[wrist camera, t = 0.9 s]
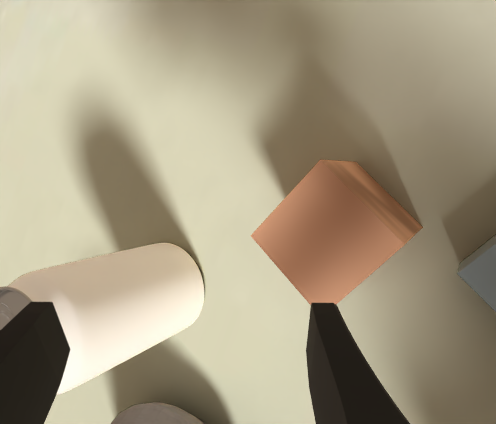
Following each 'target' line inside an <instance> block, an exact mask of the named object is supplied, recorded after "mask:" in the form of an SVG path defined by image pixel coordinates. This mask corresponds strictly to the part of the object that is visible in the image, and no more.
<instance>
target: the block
mask: <svg viewBox="0 0 496 424" xmlns="http://www.w3.org/2000/svg"><path fill="white" fill-rule="evenodd" d="M422 228H423V227H422V226H421V225H420V224H419V223H418V222H417V221H416V220H415V219H414V218H413V217H412V216H411V215H410V214H409V213H408V212H407V211H406V210H405V209H404V208H403V207H402V206H401V205H400V204H399V203H398V202H397V201H395V200H394V199H393V198H392V197H391V196H390V195H389V194H388V193H387V192H386V191H385V190H384V189H383V188H382V187H381V186H380V185H379V184H378V183H377V182H376V181H375V180H374V179H373V178H372V177H371V176H370V175H369V174H368V173H367V172H366V171H365V170H364V169H363V168H362V167H361V166H360V165H359V164H358V163H357V162H351V161H336V160H319V161H318V163H317V164H316V165H315V166H314V167H313V168H312V169H311V170H310V171H309V172H308V174H307V175H306V176H305V177H304V178H303V179H302V180H301V181H300V182H299V183H298V184H297V186H296V187H295V188H294V189H293V190H292V191H291V192H290V193H289V194H288V195H287V197H286V198H285V199H284V200H283V201H282V202H281V203H280V204H279V205H278V206H277V207H276V209H275V210H274V211H273V212H272V213H271V214H270V215H269V216H268V217H267V218H266V220H265V221H264V222H263V223H262V224H261V225H260V226H259V227H258V228H257V229H256V230H255V232H254V233H253V234H252V235H251V237H252V238H253V239H254V240H255V241H256V242H257V244H258V245H259V246H260V247H261V248H262V249H263V251H264V252H265V253H266V254H267V255H268V256H269V257H270V259H271V260H272V261H273V262H274V263H275V264H276V266H277V267H278V268H279V269H280V270H281V271H282V273H283V274H284V275H285V276H286V277H287V278H288V279H289V281H290V282H291V283H292V284H293V285H294V286H295V288H296V289H297V290H298V291H299V292H300V293H301V295H302V296H303V297H304V298H305V299H306V300H307V301H308V303H309V304H310V305H311V303H334V304H337V303H338V302H340V301H341V300H342V299H343V298H344V297H345V296H346V295H348V294H349V293H350V292H351V291H352V290H353V289H354V288H356V287H357V286H358V285H359V284H360V283H361V282H362V281H364V280H365V279H366V278H367V277H368V276H369V275H370V274H372V273H373V272H374V271H375V270H376V269H377V268H379V267H380V266H381V265H382V264H383V263H384V262H385V261H387V260H388V259H389V258H390V257H391V256H392V255H393V254H395V253H396V252H397V251H398V250H399V249H400V248H401V247H403V246H404V245H405V244H406V243H407V242H408V241H409V240H410V239H411V238H412V237H413V236H414V235H415V234H416V233H417V232H418V231H420V230H421V229H422Z"/></svg>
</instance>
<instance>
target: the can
mask: <svg viewBox="0 0 496 424" xmlns="http://www.w3.org/2000/svg"><path fill="white" fill-rule="evenodd" d="M30 302H53V304H54V307H55V310H56V312H57V315H58V318H59V320H60V323H61V326H62V328H63V331H64V334H65V336H66V339H67V341H68V344H69V347H70V353H69V356H68V360H67V364H66V367H65V371H64V374H63V377H62V381H61V384H60V387H59V389H58V391H57V394H61V393H64V392H67V391H69V390H71V389H73V388H75V387H77V386H79V385H81V384H83V383H85V382H87V381H89V380H91V379H92V378H94V377H96V376H98V375H100V374H102V373H104V372H106V371H108V370H109V369H111V368H113V367H115V366H117V365H119V364H121V363H123V362H125V361H126V360H128V359H130V358H132V357H134V356H136V355H138V354H140V353H141V352H143V351H145V350H147V349H149V348H151V347H153V346H154V345H156V344H158V343H160V342H162V341H164V340H166V339H167V338H169V337H171V336H173V335H175V334H177V333H178V332H180V331H182V330H184V329H185V328H187V327H189V326H190V325H191V324H193V323H194V322H195V320H196V319H197V318H198V316H199V314H200V312H201V310H202V307H203V302H204V284H203V279H202V275H201V273H200V270H199V268H198V266H197V265H196V263H195V261H194V260H193V259H192V257H191V256H190V255H189V254H188V253H187V252H186V251H184V250H183V249H182V248H180V247H178V246H176V245H174V244H171V243H156V244H151V245H146V246H142V247H137V248H132V249H128V250H123V251H119V252H114V253H110V254H105V255H101V256H97V257H92V258H88V259H83V260H79V261H74V262H70V263H66V264H61V265H57V266H53V267H48V268H44V269H40V270H36V271H32V272H29V273H26V274H24V275H22V276H20V277H18V278H17V279H16V280H14V281H13V282H12V283H11V284H9V285H8V286H7V287H0V330H1V329H2V328H3V327H4V326H5V325H6V324H7V323H9V322H10V321H11V320H12V319H13V318H14V317H15V316H16V315H17V314H18V313H19V312H20V311H21V310H22V309H23V308H25V307H26V306H27V305H28V304H29V303H30ZM57 394H56V395H57Z"/></svg>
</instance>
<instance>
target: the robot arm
mask: <svg viewBox="0 0 496 424" xmlns="http://www.w3.org/2000/svg"><path fill="white" fill-rule="evenodd" d="M69 353H70V347H69V344H68V341H67V339H66V336H65V334H64V331H63V328H62V326H61V323H60V320H59V318H58V315H57V312H56V310H55V307H54V304H53V302H30V303H29V304H28V305H27V306H26V307H25V308H23V309H22V310H21V311H20V312H19V313H18V314H17V315H16V316H15V317H14V318H13V319H12V320H11V321H10V322H9V323H7V324H6V325H5V326H4V327H3V328H2V329H1V330H0V424H44V422H45V420H46V417H47V415H48V413H49V410H50V408H51V406H52V403H53V401H54V399H55V396H56V394H57V391H58V389H59V387H60V384H61V381H62V377H63V374H64V371H65V367H66V364H67V360H68V356H69ZM306 354H307V367H308V379H309V388H310V394H311V399H312V405H313V410H314V416H315V421H316V424H410V423H409V422H408V420H407V419H406V418H405V416H404V415H403V414H402V412H401V411H400V410H399V408H398V407H397V406H396V404H395V403H394V401H393V400H392V399H391V397H390V396H389V394H388V393H387V391H386V390H385V389H384V387H383V386H382V384H381V383H380V381H379V380H378V378H377V377H376V375H375V373H374V372H373V370H372V369H371V367H370V365H369V364H368V362H367V361H366V359H365V357H364V356H363V354H362V353H361V351H360V349H359V347H358V346H357V344H356V342H355V340H354V339H353V337H352V335H351V333H350V331H349V329H348V328H347V326H346V324H345V322H344V320H343V318H342V316H341V314H340V311H339V309H338V307H337V305H336V304H334V303H311V311H310V320H309V329H308V339H307V348H306Z"/></svg>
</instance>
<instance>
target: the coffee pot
mask: <svg viewBox="0 0 496 424" xmlns="http://www.w3.org/2000/svg"><path fill="white" fill-rule="evenodd" d="M111 424H205V423H204V422H202V421H201V420H200V419H198V418H196V417H195V416H193V415H191V414H189V413H188V412H186V411H184V410H182V409H180V408H178V407H176V406H174V405H170V404H165V403H161V402H155V403H144V404H136V405H133V406H131V407H129V408H127V409H126V410H124V411H122V412H120V413H119V414H118V415H117V416H116V418H115V419H114V420H113V421H112V423H111Z"/></svg>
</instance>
